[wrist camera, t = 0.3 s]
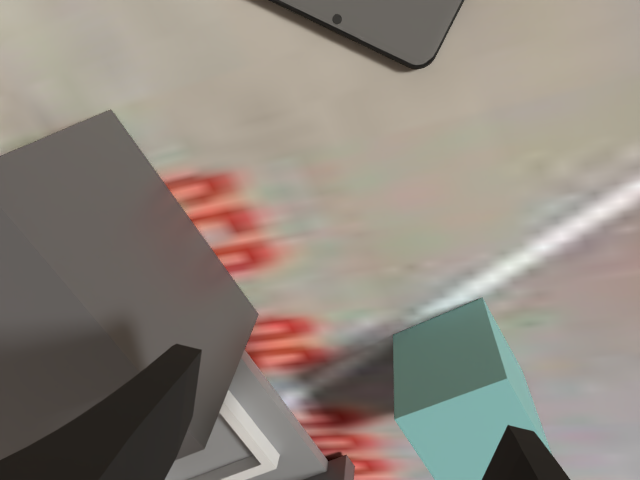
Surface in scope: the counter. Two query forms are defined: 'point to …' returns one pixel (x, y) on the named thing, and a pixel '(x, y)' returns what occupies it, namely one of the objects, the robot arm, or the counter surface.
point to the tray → (258, 439)
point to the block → (459, 391)
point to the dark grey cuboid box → (103, 284)
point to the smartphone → (385, 24)
